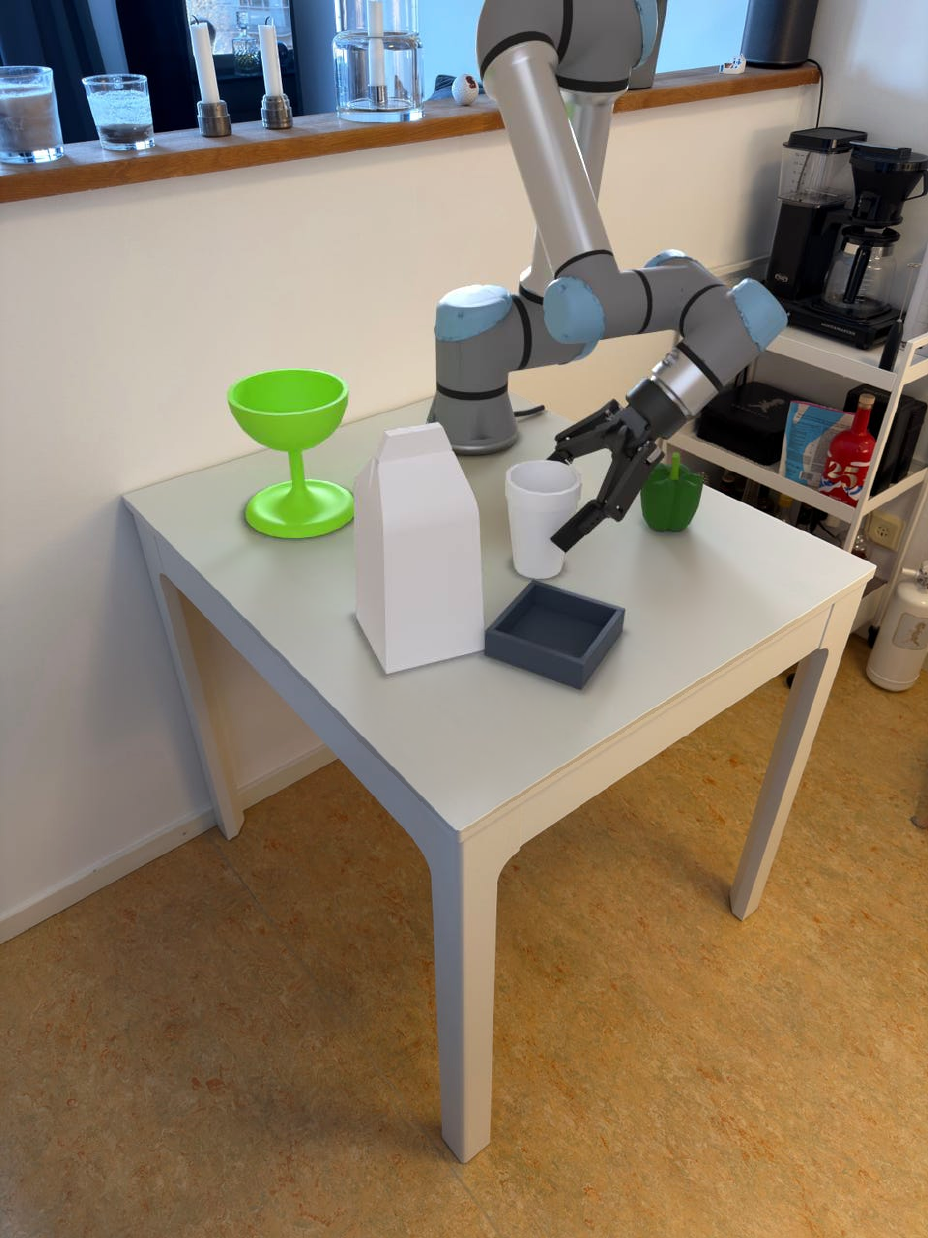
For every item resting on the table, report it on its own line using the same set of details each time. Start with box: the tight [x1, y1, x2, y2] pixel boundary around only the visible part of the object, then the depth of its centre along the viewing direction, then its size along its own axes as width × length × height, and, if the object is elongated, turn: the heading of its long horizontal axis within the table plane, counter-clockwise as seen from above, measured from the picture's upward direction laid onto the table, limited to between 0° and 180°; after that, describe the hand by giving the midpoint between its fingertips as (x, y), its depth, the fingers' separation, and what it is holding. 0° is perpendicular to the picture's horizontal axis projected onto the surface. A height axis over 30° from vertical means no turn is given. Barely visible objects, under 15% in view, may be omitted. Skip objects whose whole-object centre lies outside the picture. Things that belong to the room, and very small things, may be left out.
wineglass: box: [226, 367, 354, 539], centre depth 124 cm, size 16×16×18 cm
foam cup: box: [504, 459, 583, 580], centre depth 114 cm, size 10×9×13 cm
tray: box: [484, 579, 626, 691], centre depth 104 cm, size 12×12×4 cm
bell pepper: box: [639, 452, 704, 532], centre depth 124 cm, size 8×8×10 cm
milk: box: [353, 422, 485, 675], centre depth 98 cm, size 12×12×26 cm
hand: (541, 518), depth 114 cm, fingers open, 13 cm apart
